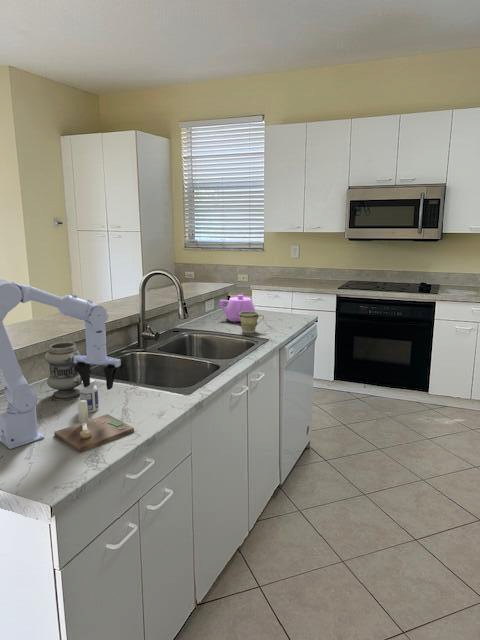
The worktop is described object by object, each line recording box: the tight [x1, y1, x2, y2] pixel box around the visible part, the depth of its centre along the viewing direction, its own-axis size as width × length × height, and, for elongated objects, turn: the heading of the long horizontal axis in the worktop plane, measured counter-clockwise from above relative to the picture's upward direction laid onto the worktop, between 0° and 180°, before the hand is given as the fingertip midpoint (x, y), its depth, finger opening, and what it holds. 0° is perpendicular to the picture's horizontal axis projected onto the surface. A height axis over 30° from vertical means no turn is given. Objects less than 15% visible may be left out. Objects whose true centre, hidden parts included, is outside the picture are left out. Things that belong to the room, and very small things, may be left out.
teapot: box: [218, 294, 256, 323], centre depth 278 cm, size 23×21×15 cm
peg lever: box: [77, 400, 92, 439], centre depth 135 cm, size 11×3×7 cm, turn 22°
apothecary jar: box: [44, 341, 83, 401], centre depth 164 cm, size 12×12×18 cm
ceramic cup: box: [239, 311, 265, 334], centre depth 254 cm, size 13×10×10 cm
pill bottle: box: [79, 378, 100, 414], centre depth 153 cm, size 5×5×10 cm
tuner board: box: [53, 413, 135, 453], centre depth 137 cm, size 17×14×1 cm
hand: (98, 387), depth 146 cm, fingers open, 7 cm apart
